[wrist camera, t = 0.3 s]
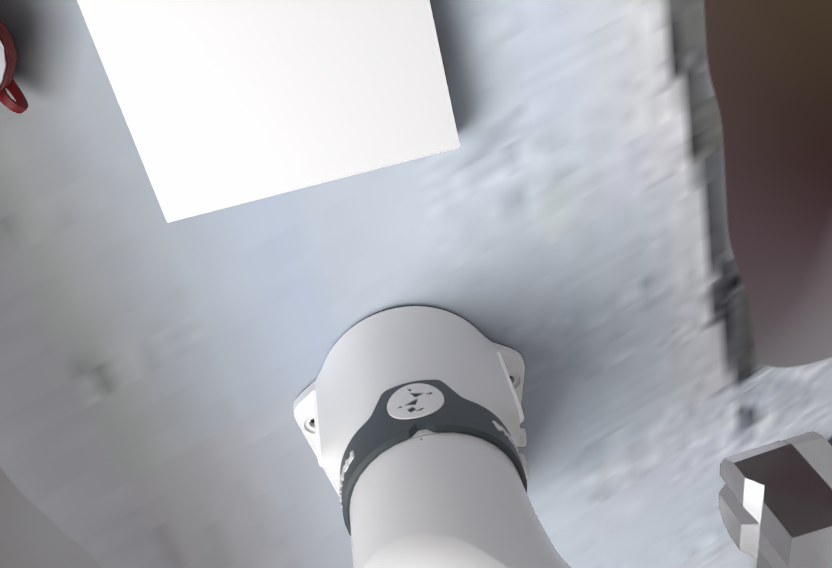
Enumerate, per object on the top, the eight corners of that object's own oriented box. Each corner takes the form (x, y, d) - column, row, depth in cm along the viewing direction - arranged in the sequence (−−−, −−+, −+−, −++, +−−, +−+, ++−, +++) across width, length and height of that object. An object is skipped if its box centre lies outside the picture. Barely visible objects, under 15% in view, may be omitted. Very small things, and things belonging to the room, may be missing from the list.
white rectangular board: (177, 206, 51) (452, 136, 51) (167, 222, 48) (460, 147, 48) (88, -18, 44) (402, -99, 44) (70, -17, 41) (407, -104, 41)
